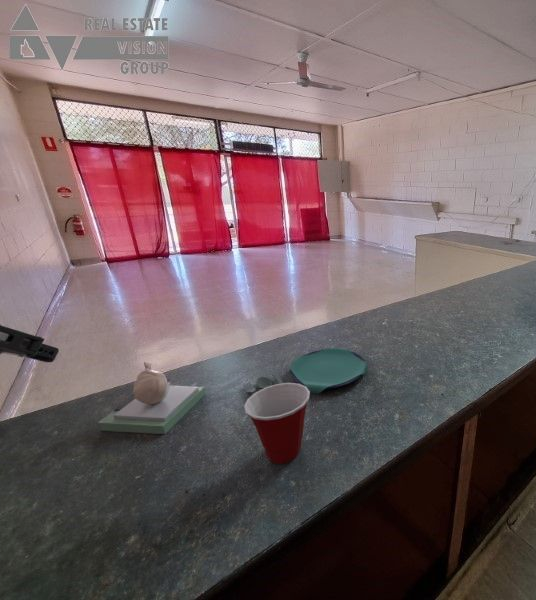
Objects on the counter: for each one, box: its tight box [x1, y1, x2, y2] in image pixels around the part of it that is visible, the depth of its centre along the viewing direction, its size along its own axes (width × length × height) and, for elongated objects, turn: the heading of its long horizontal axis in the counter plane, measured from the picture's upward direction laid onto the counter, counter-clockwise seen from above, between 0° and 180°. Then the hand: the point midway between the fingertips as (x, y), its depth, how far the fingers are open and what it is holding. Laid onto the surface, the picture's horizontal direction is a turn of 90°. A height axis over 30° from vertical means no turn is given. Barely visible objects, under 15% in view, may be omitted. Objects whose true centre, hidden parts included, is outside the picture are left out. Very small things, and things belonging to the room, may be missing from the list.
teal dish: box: [242, 347, 369, 397], centre depth 81 cm, size 20×30×2 cm, turn 130°
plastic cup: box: [243, 382, 311, 465], centre depth 57 cm, size 11×11×12 cm
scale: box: [97, 384, 207, 435], centre depth 68 cm, size 13×13×3 cm
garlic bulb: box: [132, 361, 171, 404], centre depth 66 cm, size 7×6×8 cm
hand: (26, 354), depth 48 cm, fingers open, 8 cm apart
